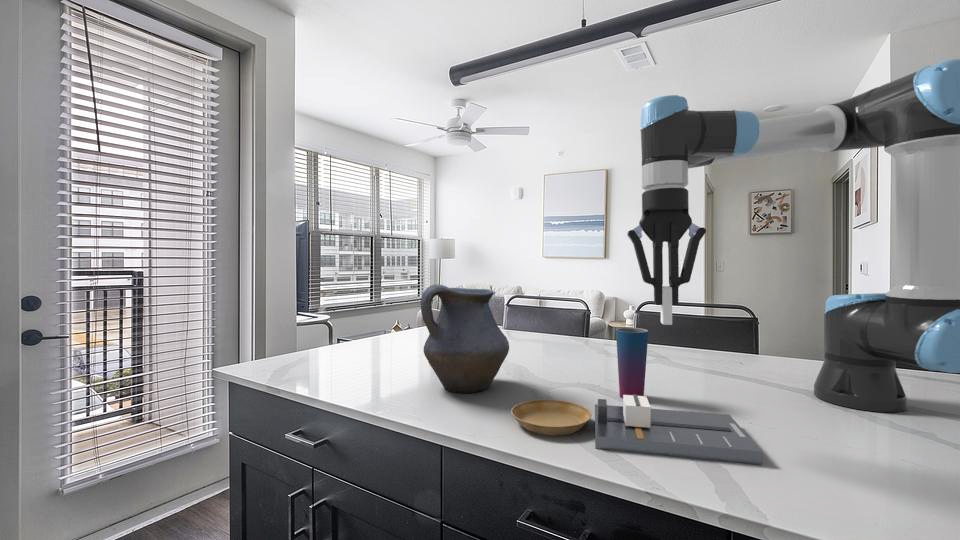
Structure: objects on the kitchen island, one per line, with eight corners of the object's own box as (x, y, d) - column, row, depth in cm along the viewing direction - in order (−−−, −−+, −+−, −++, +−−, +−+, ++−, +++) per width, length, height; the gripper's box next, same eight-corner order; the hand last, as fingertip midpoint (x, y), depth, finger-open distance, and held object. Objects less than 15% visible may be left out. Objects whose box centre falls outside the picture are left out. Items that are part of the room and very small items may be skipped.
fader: (646, 415, 80) (646, 395, 80) (650, 427, 74) (650, 406, 74) (623, 413, 81) (623, 393, 81) (625, 425, 75) (625, 404, 75)
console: (729, 425, 81) (729, 398, 81) (761, 464, 66) (762, 431, 66) (594, 414, 87) (594, 389, 87) (595, 448, 72) (595, 417, 72)
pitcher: (527, 390, 103) (527, 283, 102) (446, 409, 91) (445, 287, 90) (477, 372, 120) (477, 280, 119) (404, 385, 108) (403, 282, 107)
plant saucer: (495, 422, 84) (495, 409, 84) (549, 406, 93) (549, 394, 93) (552, 449, 72) (552, 433, 72) (608, 427, 81) (608, 413, 81)
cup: (650, 403, 94) (650, 332, 94) (617, 401, 95) (617, 331, 95) (645, 393, 101) (645, 327, 100) (614, 391, 102) (614, 327, 102)
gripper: (699, 190, 80) (701, 320, 80) (623, 194, 83) (625, 320, 83) (711, 183, 72) (712, 327, 73) (627, 188, 75) (629, 326, 76)
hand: (666, 323), depth 78 cm, fingers closed
